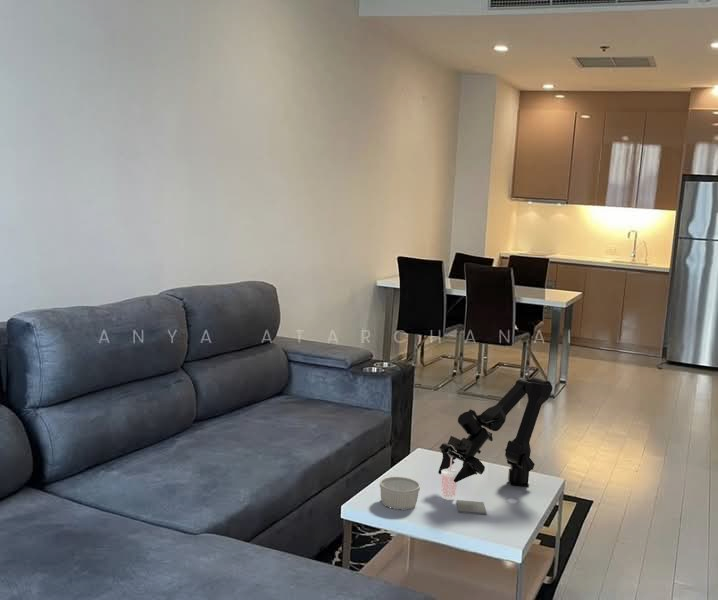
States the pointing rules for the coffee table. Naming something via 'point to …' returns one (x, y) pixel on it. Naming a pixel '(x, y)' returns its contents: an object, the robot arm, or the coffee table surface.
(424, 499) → the coffee table surface
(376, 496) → the coffee table surface
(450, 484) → the beverage cup
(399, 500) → the ramekin
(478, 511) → the coaster
